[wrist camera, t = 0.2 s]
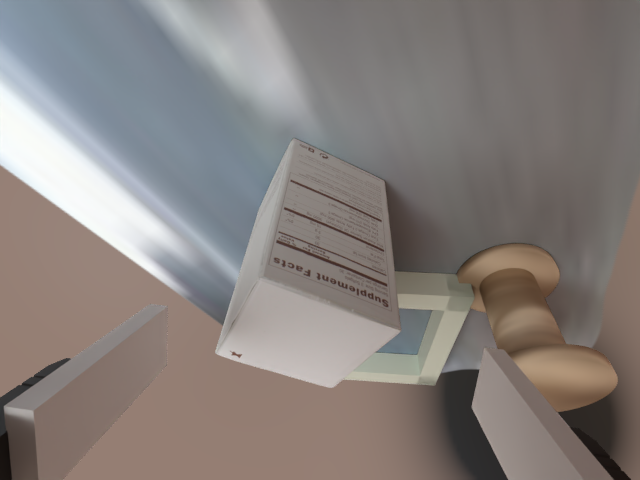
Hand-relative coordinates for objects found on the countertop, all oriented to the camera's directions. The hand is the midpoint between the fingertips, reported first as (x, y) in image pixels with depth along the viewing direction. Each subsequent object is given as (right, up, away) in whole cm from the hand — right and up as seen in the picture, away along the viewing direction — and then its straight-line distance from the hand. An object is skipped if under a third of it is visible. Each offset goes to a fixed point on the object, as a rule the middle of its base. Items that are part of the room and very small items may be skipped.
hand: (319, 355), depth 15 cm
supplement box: (0, +8, +12) cm, 15 cm away
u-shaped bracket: (+5, -4, +23) cm, 24 cm away
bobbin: (+16, +2, +17) cm, 23 cm away
